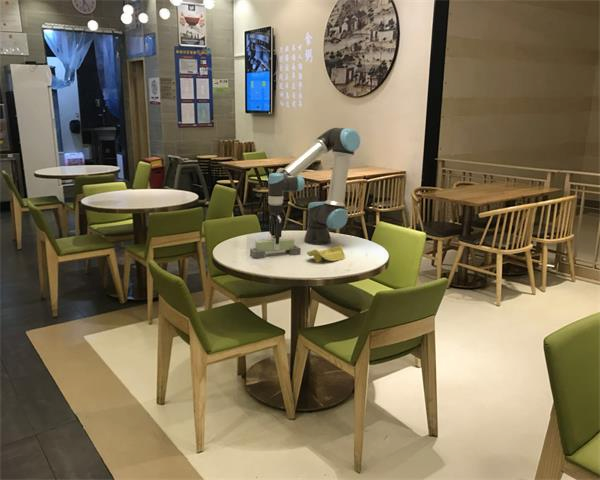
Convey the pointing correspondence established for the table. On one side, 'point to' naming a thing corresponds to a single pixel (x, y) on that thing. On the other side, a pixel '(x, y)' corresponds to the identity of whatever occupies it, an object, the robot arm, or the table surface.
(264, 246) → the slat
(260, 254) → the end caps
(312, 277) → the table surface
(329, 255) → the plastic component
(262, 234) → the table surface
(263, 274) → the table surface
